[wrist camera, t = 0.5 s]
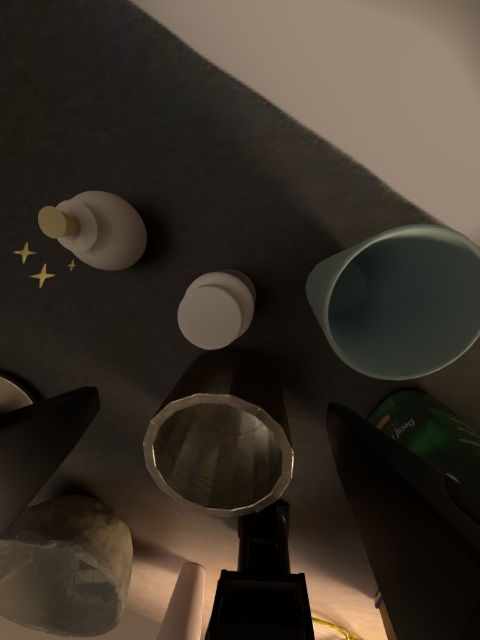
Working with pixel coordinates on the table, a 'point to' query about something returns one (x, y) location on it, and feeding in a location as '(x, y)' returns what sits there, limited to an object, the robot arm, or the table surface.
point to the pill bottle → (217, 308)
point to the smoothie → (185, 606)
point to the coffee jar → (432, 434)
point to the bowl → (66, 567)
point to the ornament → (94, 231)
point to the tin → (222, 436)
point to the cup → (400, 301)
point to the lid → (13, 395)
